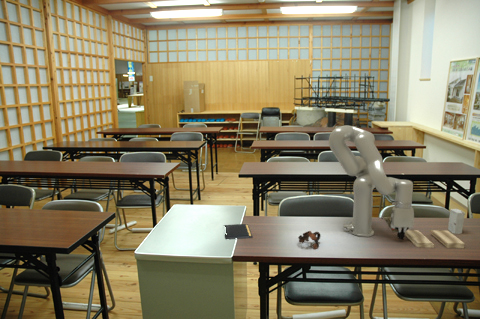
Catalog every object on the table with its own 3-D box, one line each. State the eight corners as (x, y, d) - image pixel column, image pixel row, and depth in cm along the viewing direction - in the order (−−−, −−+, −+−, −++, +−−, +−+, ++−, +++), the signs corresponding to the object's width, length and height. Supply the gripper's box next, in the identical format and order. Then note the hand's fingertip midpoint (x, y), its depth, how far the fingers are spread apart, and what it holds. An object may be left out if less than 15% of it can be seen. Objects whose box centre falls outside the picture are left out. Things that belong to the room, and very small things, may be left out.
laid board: (445, 247, 172) (445, 242, 171) (429, 234, 187) (430, 230, 187) (464, 248, 171) (464, 243, 170) (447, 234, 187) (447, 230, 186)
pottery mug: (311, 252, 170) (303, 237, 170) (300, 254, 178) (292, 239, 178) (328, 240, 176) (320, 225, 176) (316, 242, 184) (309, 228, 184)
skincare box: (447, 229, 193) (449, 208, 191) (455, 229, 193) (457, 208, 191) (454, 234, 187) (456, 212, 185) (462, 234, 187) (465, 212, 185)
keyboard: (405, 233, 191) (405, 230, 190) (388, 232, 192) (388, 229, 192) (395, 219, 212) (395, 215, 211) (379, 218, 213) (380, 215, 213)
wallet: (223, 223, 204) (249, 222, 205) (223, 226, 205) (249, 225, 206) (224, 237, 185) (253, 236, 186) (224, 240, 185) (253, 239, 186)
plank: (417, 247, 172) (417, 242, 172) (404, 234, 188) (404, 230, 188) (434, 247, 172) (434, 243, 171) (420, 234, 188) (420, 230, 187)
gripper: (390, 206, 174) (388, 241, 177) (421, 206, 173) (419, 242, 176) (385, 202, 181) (383, 235, 184) (415, 202, 180) (412, 236, 183)
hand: (400, 238), depth 180 cm, fingers closed
